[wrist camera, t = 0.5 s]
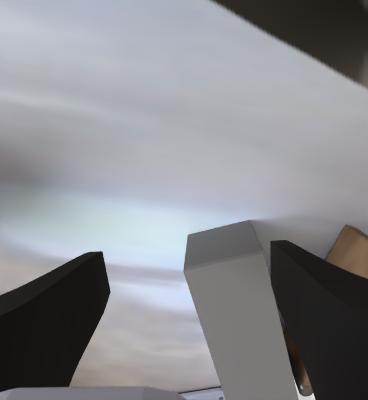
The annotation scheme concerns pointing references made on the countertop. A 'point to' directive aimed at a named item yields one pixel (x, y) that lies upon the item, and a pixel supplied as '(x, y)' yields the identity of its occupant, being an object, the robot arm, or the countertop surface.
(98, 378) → the countertop surface
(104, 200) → the countertop surface
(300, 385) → the door
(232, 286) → the grey long block
